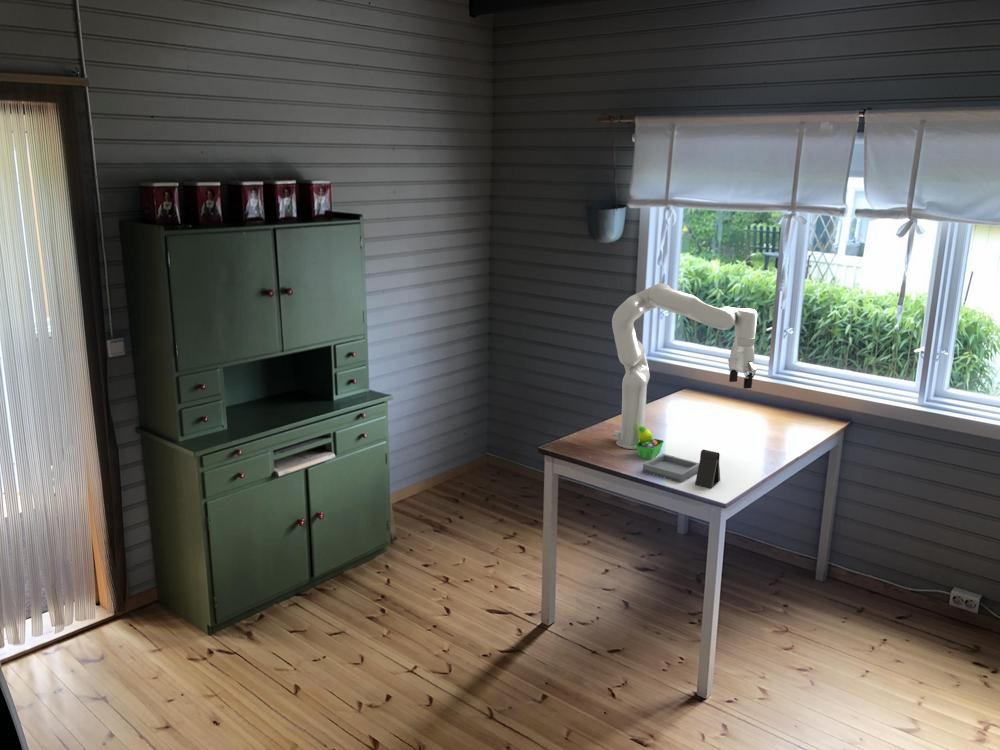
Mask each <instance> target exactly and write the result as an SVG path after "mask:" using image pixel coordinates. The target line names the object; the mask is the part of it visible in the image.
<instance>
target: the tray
mask: <svg viewBox="0 0 1000 750" xmlns="http://www.w3.org/2000/svg"><path fill="white" fill-rule="evenodd" d="M698 467H699V462H697V461H692V460H689V459H685V458H681V457H677V456H673V455H669V454H666V453H662V454H660V455H658V456H655V457H653V458H652V459H649V461H646V462H644V463H643V464H642V472H643V471H644V472H643V473H646V472H647V473H646V474H649V473H651V474H650V475H653V474H655V475H654V476H656V475H658V476H657V477H660V476H661V478H663V477H665V478H664V479H667V480H670V479H671V480H670V481H674V482H678V483H683V482H685V481H687V480H688V479H690V478H692V477H693V476H695V475H697V472H698Z"/></svg>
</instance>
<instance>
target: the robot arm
mask: <svg viewBox="0 0 1000 750" xmlns="http://www.w3.org/2000/svg"><path fill="white" fill-rule="evenodd" d="M656 308H658V309H661V310H665V311H668V312H671V313H672V314H673V313H674V314H677V315H680V316H682V317H686V318H687V319H690V320H693V321H696V322H698V323H700V324H703V325H706V326H709V327H711V328H714V329H719V330H723V331H725V330H726V331H727V330H731V329H732V328H733V327H734V338H733V342H732V346H731V350H730V355H729V358H728V359H727V360H728V367H729V369H728V370H729V379H728V382H729V383H734V382H735V383H736V382H737V381H738V376H739V373H743V374H744V379H743V389H752V385H753V379H754V377H755V375H756V372H757V371H758V370H757V367H756V366H755V340H756V331H757V321H758V312H757V310H755V309H753V308H747V307H746V308H737V307H734V306H733V307H731V306H726V305H725V306H722V307H717V306H713V305H710V304H708V303H705V302H704V301H703V300H701V299H699V298H698V297H697V296H696V295H693V294H689V293H688V292H687V293H686V292H684V291H680V290H677V289H675V288H671V287H670V285H669V284H666V283H661V282H660V283H656V284H654V285H652V286H650V287H648V288H646V289H644V290H641V291H639V292H637V293H635V294H632V295H631V296H629V297H628V298H627V299H625V300H624V301H623V303H621V304H620V305H619V306H618V307H617V308H616V310H615V311H614V312H613V314H612V320H611V326H612V332H613V335H614V342H615V347H616V351H617V358H618V360H619V362H620V363H621V364H622V365H623V366H624V370H625V373H624V376H623V379H622V382H621V383H622V385H621V387H622V388H621V389H622V390H621V392H622V394H621V396H622V397H621V398H622V399H621V420H620V430H617V429H614V430H613V432H612V436H613V437H617V439H616V442H615V443H616V445H617V446H618V447H620V448H622V447H623V449H627V450H637V447H636V444H638V443H639V442H640V440H639V438H638V434H639V433H638V430H639V428H640V427H641V426H644V427H645V425H646V409H647V408H646V407H647V388H648V383H649V381H650V378H651V376H650V375H651V374H650V368H649V364H648V359H647V354H646V351H645V348H644V345H643V344H642V342H641V341H640V340H638V337H637V333H636V329H635V326H634V325H635V324H634V323H635V322H636V320H638V319H639V318H640V317H642V315H643V314H645V313H647V312H650V311H652V310H654V309H656ZM645 428H646V427H645Z"/></svg>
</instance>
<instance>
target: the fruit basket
mask: <svg viewBox="0 0 1000 750" xmlns="http://www.w3.org/2000/svg"><path fill="white" fill-rule="evenodd" d="M638 433H639V434H638V438H639V440H640V442H639V443H638V444H636V447H637V449H636V450H637V454H638V457H639V456H640V457H639V458H642V457H644V458H643V459H647V458H649V460H652V459H654V458H656V457H657V455H659V454H660V452H661V449H662V446H663V444H664V443H665V441H664V440H663V439H658V438H653V433H652V432H651V431H650V430H649V429H648V428H647V427H644V426H641V427H640V428H639V430H638Z"/></svg>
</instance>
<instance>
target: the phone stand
mask: <svg viewBox="0 0 1000 750" xmlns="http://www.w3.org/2000/svg"><path fill="white" fill-rule="evenodd" d="M699 456H700V457H699V462H698V463H699V467H698V472H697V474H696V477H695V484H694V485H695V486H699V487H704V488H708V489H713V488H714V487H715V486H716V485H718V484H719V483H720V482H721V472H720V452H718V451H717V452H716V451H711V450H707V449H701V451H700V455H699ZM719 481H720V482H719ZM718 482H719V483H718Z"/></svg>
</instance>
